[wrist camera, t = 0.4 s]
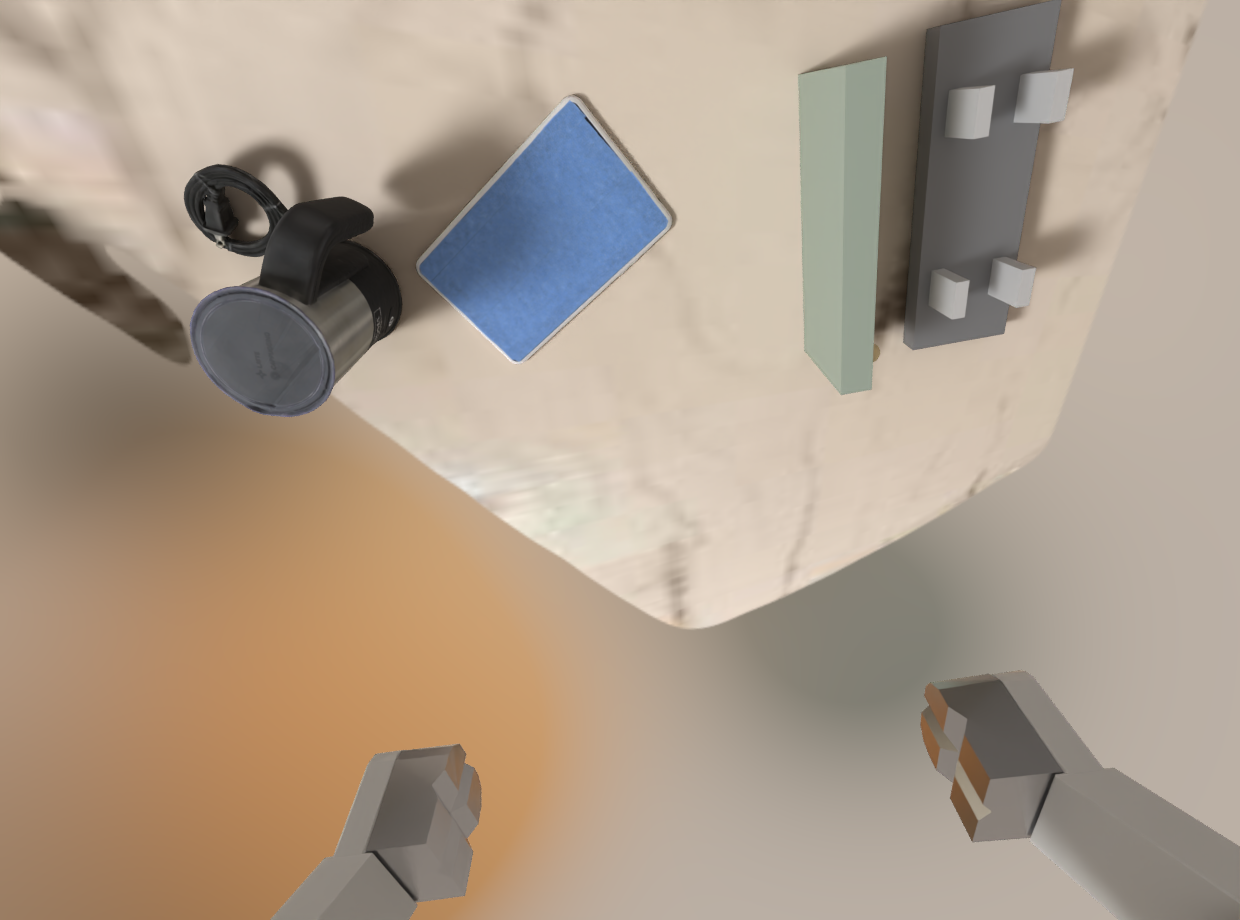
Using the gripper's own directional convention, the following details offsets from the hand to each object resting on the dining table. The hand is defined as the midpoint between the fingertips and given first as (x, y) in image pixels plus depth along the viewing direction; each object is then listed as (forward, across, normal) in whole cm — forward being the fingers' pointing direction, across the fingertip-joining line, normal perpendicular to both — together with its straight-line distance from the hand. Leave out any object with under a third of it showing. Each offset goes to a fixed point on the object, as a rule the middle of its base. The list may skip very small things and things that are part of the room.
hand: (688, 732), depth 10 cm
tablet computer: (+46, +7, -1) cm, 46 cm away
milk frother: (+45, +27, -3) cm, 53 cm away
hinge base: (+45, -28, +2) cm, 53 cm away
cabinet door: (+45, -16, +2) cm, 48 cm away
